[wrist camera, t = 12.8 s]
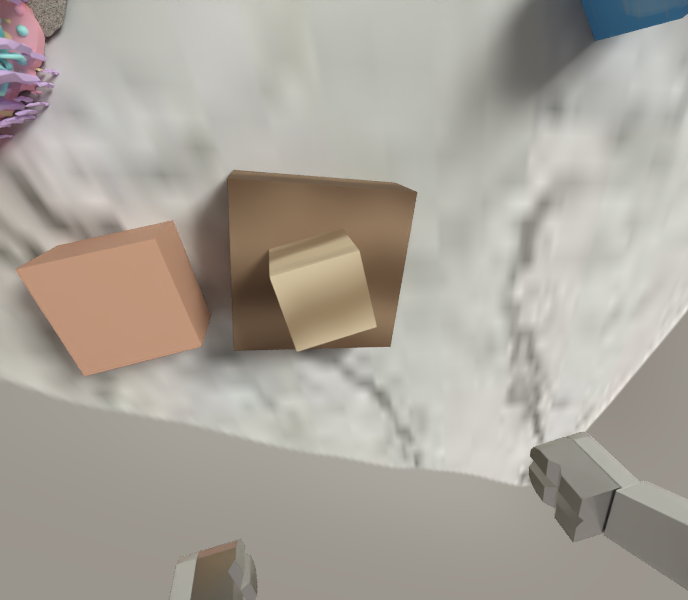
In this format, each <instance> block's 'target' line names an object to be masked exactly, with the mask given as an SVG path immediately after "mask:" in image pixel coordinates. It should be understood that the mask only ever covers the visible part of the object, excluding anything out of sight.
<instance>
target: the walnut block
mask: <svg viewBox="0 0 688 600" xmlns="http://www.w3.org/2000/svg"><path fill="white" fill-rule="evenodd" d="M227 181H228V208H229V234H230V261H231V288H232V315H233V341H234V351H237V350H277V349H296V348H295V345H294V343H293V340H292V337H291V334H290V332H289V329H288V326H287V323H286V321H285V318H284V315H283V312H282V310H281V307H280V304H279V301H278V299H277V296H276V293H275V291H274V288H273V285H272V282H271V280H270V274H269V249H272V248H275V247H278V246H282V245H285V244H289V243H292V242H296V241H299V240H303V239H306V238H309V237H313V236H316V235H320V234H323V233H327V232H330V231H333V230H337V229H340V228H342V229H343V230H344V231H345V232H346V234H347V235H348V236H349V238H350V239H351V240H352V242H353V243H354V244H355V245H356V247H357V248H358V249H359V251H360V255H361V260H362V264H363V269H364V273H365V277H366V282H367V286H368V290H369V295H370V299H371V304H372V308H373V312H374V317H375V321H376V326H377V327H375V328H372V329H369V330H365V331H362V332H359V333H356V334H353V335H349V336H346V337H343V338H340V339H337V340H333V341H330V342H327V343H324V344H321V345H317V346H314V347H311V348H308V349H317V348H358V347H390V346H391V340H392V334H393V329H394V323H395V317H396V311H397V306H398V300H399V294H400V288H401V283H402V277H403V271H404V265H405V260H406V254H407V248H408V242H409V237H410V231H411V225H412V219H413V214H414V208H415V202H416V196H417V192H416V191H413V190H411V189H409V188H406V187H404V186H402V185H399V184H397V183H392V182H380V181H367V180H354V179H342V178H329V177H316V176H304V175H291V174H278V173H265V172H253V171H240V170H233V171H232V173H231V174H230V175H229V177H228V178H227Z"/></svg>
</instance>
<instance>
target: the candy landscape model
mask: <svg viewBox="0 0 688 600" xmlns="http://www.w3.org/2000/svg"><path fill="white" fill-rule="evenodd" d="M66 3H67V0H0V119H2V118H4V117H5V116H12V115H13V112H14V111H15V110H16V109H21V110H22V111H19V112H17V113H15V114H16V115H17V116H19V117H13V118H6V119H4V120H1V121H0V128H1V127H11V123H16V124H18V123H23V120H24V119H36V116H34V115H25V114H27V113H29V114H37V111H36V110H24V108H25V107H32V106H38V105H44V106H49V104H48V103H45V102H36V103H29V104H28V105H26V106H25V105H24V104H23V103H22V102H20V101H25V102H32V101H33V99H32V98H31V97H24V96H20V97H17V96H18V94H19V93H20V92H22V91H25V90H30V91H31V93H32V94H36V93H37V94H40V95H41V93H42V92H40V91H37V90H35V88H36V87H35V86H37V85H38V86H40V87H42V86H47V87H52V88H53V86H54V85H53V84H52V83H46V82H41V80H40V79H39V78H38V77H37V75H36V70H37V71H40V72H44V73H47V72H48V73H52V74H55V75H59V72H57V71H55V70H50V69H40V68H38V67H40V66H41V64H42V62H43V61H46V58H45V56H44V47H45V36H47V37H49V36H51V35H52V34H53V32H54V31H55V30H57V29H58V28H60V27H61V26H62V24H63V20H64V15H65V9H66ZM36 68H37V69H36ZM20 115H21V116H20ZM5 137H13V135H11V134H9V135H8V134H6V135H0V138H5Z"/></svg>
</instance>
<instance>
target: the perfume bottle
mask: <svg viewBox="0 0 688 600" xmlns="http://www.w3.org/2000/svg"><path fill="white" fill-rule="evenodd" d="M581 2H582V5H583V8H584V11H585V14H586V16H587V19H588V22H589V25H590V28H591V30H592V33H593V36H594V39H595V41H597V40H601V39H605V38H609V37H612V36H616V35H620V34H624V33H628V32H631V31H635V30H639V29H643V28H647V27H650V26H654V25H658V24H662V23H666V22H669V21H673V20H677V19H681V18H683V17H684V16H685V15H687V14H688V0H581Z"/></svg>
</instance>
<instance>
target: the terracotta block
mask: <svg viewBox="0 0 688 600" xmlns="http://www.w3.org/2000/svg"><path fill="white" fill-rule="evenodd" d="M15 270H16V272H17V273H18V275H19V276H20V278H21V279H22V281H23V282H24V284H25V286H26V287H27V289H28V290H29V292H30V293H31V295H32V296H33V298H34V299H35V301H36V302H37V304H38V306H39V307H40V309H41V310H42V312H43V313H44V315H45V316H46V318H47V319H48V321H49V322H50V324H51V326H52V327H53V329H54V330H55V332H56V333H57V335H58V336H59V338H60V339H61V341H62V343H63V344H64V346H65V347H66V349H67V350H68V352H69V353H70V355H71V356H72V358H73V359H74V361H75V363H76V364H77V366H78V367H79V369H80V370H81V372H82V373H83V375H84V376H87V375H91V374H95V373H99V372H103V371H107V370H111V369H115V368H119V367H123V366H127V365H131V364H135V363H139V362H143V361H147V360H151V359H155V358H159V357H162V356H166V355H170V354H174V353H178V352H182V351H186V350H190V349H194V348H198V347H202V344H203V341H204V337H205V334H206V330H207V327H208V324H209V320H210V317H211V314H210V311H209V309H208V306H207V304H206V301H205V299H204V296H203V294H202V291H201V289H200V287H199V284H198V282H197V279H196V277H195V274H194V272H193V269H192V267H191V264H190V262H189V259H188V257H187V254H186V252H185V249H184V247H183V244H182V242H181V239H180V237H179V234H178V232H177V229H176V227H175V224H174V222H173V220H172V221H168V222H163V223H159V224H154V225H149V226H145V227H140V228H136V229H131V230H127V231H122V232H117V233H113V234H108V235H104V236H99V237H95V238H90V239H85V240H81V241H76V242H72V243H67V244H63V245H58V246H56V247H54V248H52V249H51V250H49V251H47V252H45V253H44V254H42V255H40V256H38V257H36V258H35V259H33V260H31V261H29V262H28V263H26V264H24V265H22V266H21V267H19V268H17V269H15Z"/></svg>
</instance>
